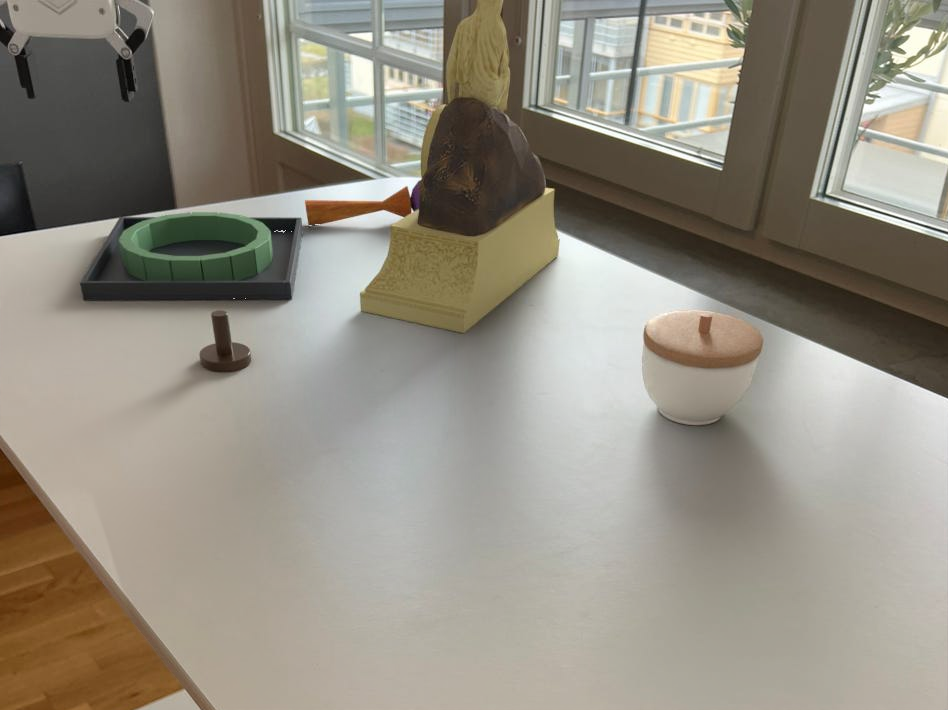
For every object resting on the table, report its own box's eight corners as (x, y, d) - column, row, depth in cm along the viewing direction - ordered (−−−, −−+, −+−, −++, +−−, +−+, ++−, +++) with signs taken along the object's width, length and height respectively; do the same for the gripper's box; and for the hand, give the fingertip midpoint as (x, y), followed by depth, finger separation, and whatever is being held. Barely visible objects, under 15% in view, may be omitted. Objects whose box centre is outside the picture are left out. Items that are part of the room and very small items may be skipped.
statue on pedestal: (467, 238, 131) (473, -34, 112) (558, 255, 127) (580, -25, 108) (360, 310, 111) (345, -6, 92) (463, 333, 107) (470, 8, 88)
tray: (83, 300, 111) (79, 282, 110) (122, 232, 129) (119, 216, 128) (292, 299, 113) (290, 282, 112) (302, 233, 131) (301, 217, 130)
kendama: (302, 187, 133) (449, 172, 135) (310, 234, 136) (453, 219, 138) (303, 191, 128) (455, 175, 130) (310, 240, 131) (459, 224, 133)
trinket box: (674, 446, 89) (691, 347, 83) (612, 396, 97) (624, 301, 91) (769, 425, 93) (792, 328, 87) (703, 378, 100) (720, 286, 94)
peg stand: (197, 372, 98) (189, 323, 95) (204, 351, 102) (196, 303, 99) (248, 371, 99) (242, 323, 95) (253, 350, 102) (247, 303, 99)
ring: (111, 286, 113) (105, 260, 112) (139, 236, 127) (134, 211, 125) (266, 286, 115) (263, 260, 113) (277, 236, 128) (275, 212, 126)
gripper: (-62, -105, 91) (-13, 102, 102) (131, -95, 93) (159, 108, 104) (-37, -109, 97) (7, 88, 108) (144, -99, 99) (170, 93, 110)
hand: (82, 97), depth 106 cm, fingers open, 9 cm apart
